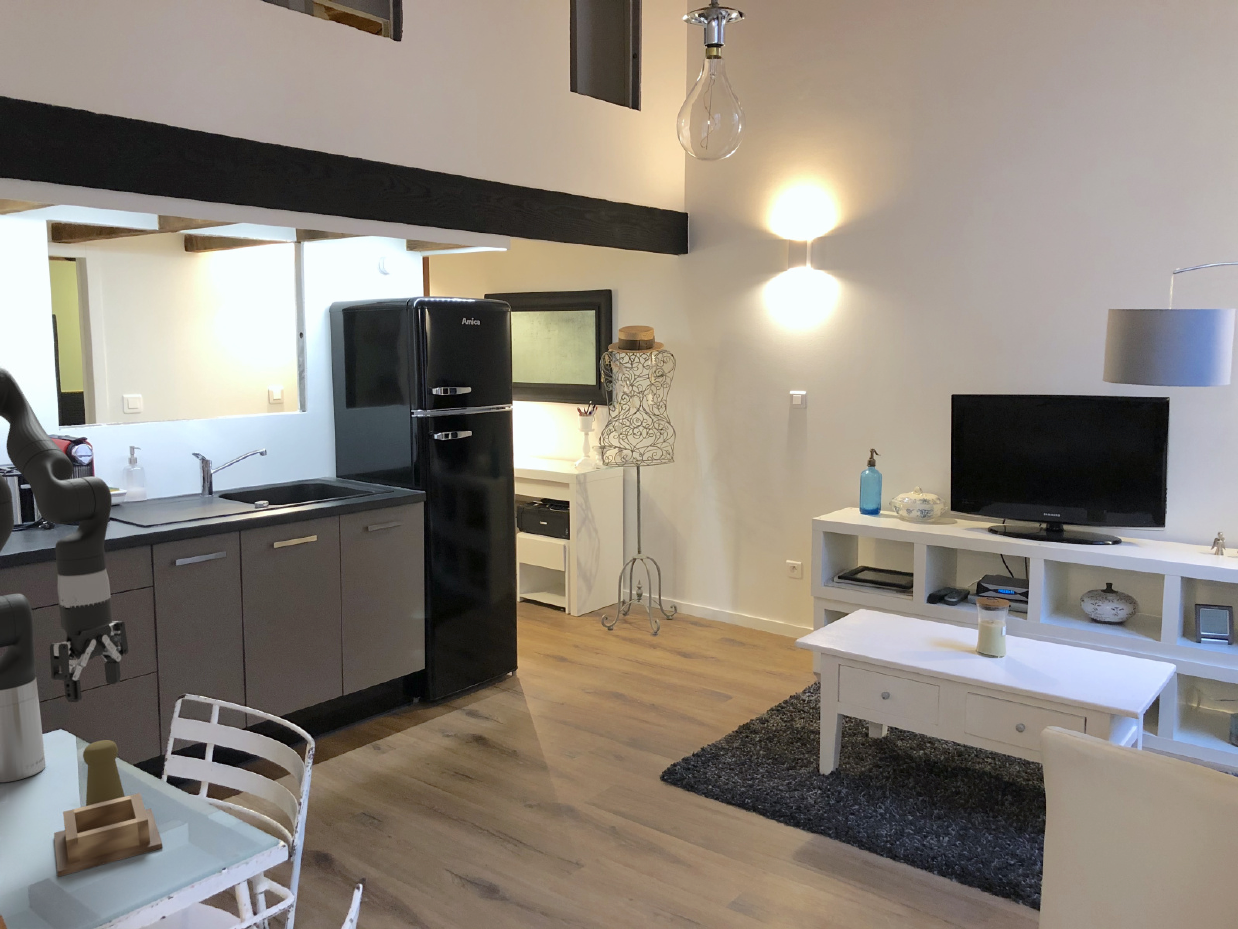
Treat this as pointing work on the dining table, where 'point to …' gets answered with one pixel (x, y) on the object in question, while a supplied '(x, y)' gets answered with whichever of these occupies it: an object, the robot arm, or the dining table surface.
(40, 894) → the dining table surface
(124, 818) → the shaker caddy
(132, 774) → the dining table surface
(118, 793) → the cork
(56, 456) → the robot arm
